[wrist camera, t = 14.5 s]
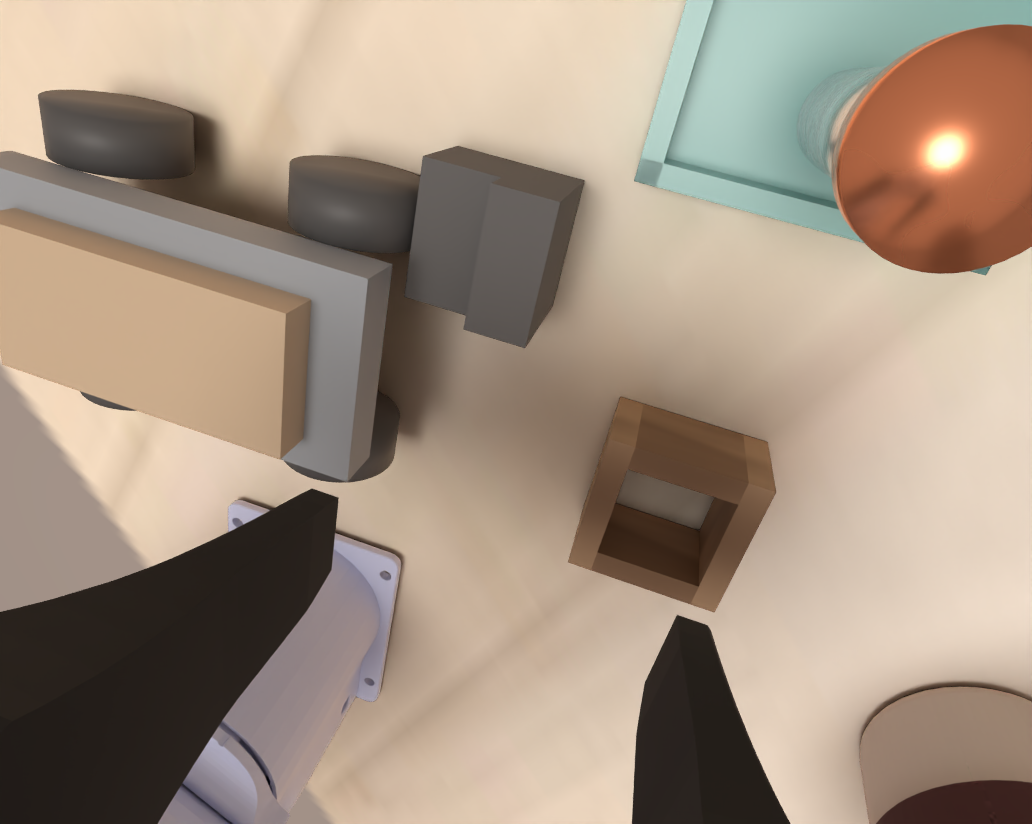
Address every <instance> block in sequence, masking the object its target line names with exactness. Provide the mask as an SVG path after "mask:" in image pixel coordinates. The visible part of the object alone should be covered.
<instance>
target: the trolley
mask: <svg viewBox="0 0 1032 824" xmlns="http://www.w3.org/2000/svg"><path fill="white" fill-rule="evenodd" d="M38 99H39V106H40V113H41V120H42V128H43V135H44V142H45V149H46V155H47V157H48V158H49V159H50V160H52V161H53V162H55V163H57V164H60V165H57V164H54V163H51V162H47V161H44V160H41V159H37V158H34V157H30V156H27V155H24V154H20V153H17V152H14V151H5V152H0V354H1V359H2V364H3V365H5V366H8V367H11V368H14V369H17V370H20V371H23V372H26V373H29V374H32V375H34V376H37V377H40V378H43V379H46V380H49V381H52V382H55V383H58V384H61V385H64V386H67V387H69V388H72V389H75V390H78V391H80V392H81V394H82V395H83V396H84V397H85V398H86V399H88V400H89V401H91V402H93V403H95V404H98V405H100V406H104V407H107V408H112V409H118V410H129V411H140V412H143V413H145V414H148V415H151V416H154V417H157V418H160V419H163V420H166V421H169V422H172V423H175V424H178V425H180V426H183V427H186V428H189V429H192V430H195V431H198V432H201V433H204V434H207V435H210V436H213V437H216V438H218V439H221V440H224V441H227V442H230V443H233V444H236V445H239V446H242V447H245V448H248V449H251V450H254V451H256V452H259V453H262V454H265V455H268V456H271V457H274V458H277V459H281V460H284V461H285V463H286V464H287V465H288V466H290V467H291V468H292V469H294V470H295V471H296V472H298V473H300V474H302V475H305V476H307V477H310V478H313V479H317V480H321V481H327V482H355V481H361V480H365V479H368V478H371V477H374V476H376V475H378V474H380V473H381V472H383V471H384V470H386V469H387V468H388V467H389V466H390V464H391V463H392V461H393V459H394V454H395V447H396V440H397V433H398V426H399V419H400V413H399V410H398V408H397V406H396V404H395V403H394V402H393V401H392V400H391V399H390V398H389V397H387V396H386V395H384V394H382V393H381V392H379V391H377V390H378V382H379V373H380V365H381V357H382V348H383V340H384V332H385V324H386V315H387V307H388V299H389V290H390V282H391V274H392V266H393V264H391V263H387V262H384V261H381V260H377V259H374V258H371V257H367V256H364V255H360V254H357V253H354V252H350V251H347V250H344V249H349V250H355V251H362V252H371V253H401V252H408V251H410V250H411V242H412V235H413V227H414V220H415V212H416V205H417V198H418V190H419V183H420V176H418V175H416V174H413V173H411V172H408V171H405V170H402V169H399V168H396V167H392V166H389V165H385V164H381V163H376V162H372V161H367V160H361V159H355V158H348V157H339V156H324V155H312V156H302V157H297V158H294V159H292V160H291V161H290V168H289V195H288V224H289V226H290V227H291V228H292V229H293V230H295V231H296V232H298V233H299V234H301V235H303V236H305V237H307V238H309V239H307V238H303V237H300V236H296V235H293V234H290V233H286V232H283V231H280V230H276V229H273V228H270V227H266V226H263V225H259V224H256V223H253V222H249V221H246V220H243V219H239V218H236V217H232V216H229V215H226V214H222V213H219V212H216V211H212V210H209V209H206V208H202V207H199V206H195V205H192V204H189V203H185V202H182V201H179V200H175V199H172V198H169V197H165V196H162V195H158V194H155V193H152V192H148V191H145V190H142V189H138V188H135V187H131V186H128V185H125V184H121V183H118V182H115V181H111V180H108V179H105V178H101V177H98V176H94V175H91V174H88V173H92V174H97V175H103V176H110V177H118V178H129V179H172V178H180V177H184V176H187V175H190V174H192V173H193V172H194V171H195V152H194V121H193V115H192V114H191V113H189V112H188V111H186V110H184V109H181V108H179V107H176V106H173V105H169V104H166V103H162V102H158V101H154V100H149V99H145V98H140V97H134V96H128V95H122V94H115V93H107V92H97V91H85V90H52V91H45V92H42V93H40V94H39V95H38ZM61 165H62V166H61ZM64 166H65V167H64ZM67 167H68V168H67ZM74 169H75V170H74ZM81 171H82V172H81ZM84 172H87V173H84ZM310 239H312V240H310ZM313 240H315V241H313ZM323 243H324V244H323ZM330 245H331V246H330ZM333 246H334V247H333ZM337 247H339V248H337ZM340 248H343V249H340Z"/></svg>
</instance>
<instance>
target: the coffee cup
mask: <svg viewBox="0 0 1032 824" xmlns="http://www.w3.org/2000/svg"><path fill="white" fill-rule="evenodd" d="M859 754H860V765H861V772H862V778H863V785H864V792H865V799H866V805H867V812H868V819H869V824H1032V701H1029V700H1027V699H1025V698H1022V697H1019V696H1016V695H1013V694H1010V693H1006V692H1002V691H997V690H993V689H986V688H978V687H943V688H937V689H931V690H925V691H922V692H918V693H915V694H912V695H909V696H906V697H904V698H901V699H899V700H897V701H896V702H894V703H892V704H890V705H889V706H887V707H885V708H884V709H883V710H882V711H881V712H879V713H878V714H877V715H876V716H875V717H874V718H873V719H872V720H871V722H870V723H869V724H868V726H867V727H866V729H865V731H864V734H863V736H862V739H861V744H860V753H859Z"/></svg>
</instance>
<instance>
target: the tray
mask: <svg viewBox="0 0 1032 824" xmlns="http://www.w3.org/2000/svg"><path fill="white" fill-rule="evenodd" d="M1002 24H1013V25H1027V26H1032V0H687V1H686V4H685V8H684V11H683V14H682V18H681V21H680V25H679V28H678V32H677V35H676V39H675V42H674V45H673V49H672V52H671V56H670V59H669V63H668V66H667V69H666V73H665V76H664V80H663V83H662V87H661V90H660V94H659V97H658V100H657V104H656V107H655V111H654V114H653V118H652V121H651V124H650V128H649V131H648V135H647V138H646V142H645V145H644V149H643V152H642V155H641V159H640V162H639V166H638V169H637V173H636V176H635V179H634V181H636V182H639V183H643V184H647V185H651V186H654V187H658V188H662V189H665V190H669V191H673V192H677V193H680V194H684V195H688V196H692V197H695V198H699V199H703V200H706V201H710V202H714V203H718V204H721V205H725V206H729V207H733V208H736V209H740V210H744V211H747V212H751V213H755V214H759V215H762V216H766V217H770V218H774V219H777V220H781V221H785V222H788V223H792V224H796V225H800V226H803V227H807V228H811V229H815V230H818V231H822V232H826V233H829V234H833V235H837V236H841V237H844V238H848V239H852V240H856V241H859V242H863V241H862V240H861V239H860V238H859V236H858V235H857V234H856V233H855V232H854V231H853V230H852V229H851V228H850V227H849V225H848V224H847V222H846V221H845V220H844V218H843V216H842V214H841V212H840V210H839V208H838V206H837V203H836V200H835V197H834V192H833V186H832V178H830V177H829V176H828V175H827V174H825V173H824V172H823V171H822V170H820V169H819V168H818V167H817V166H815V165H814V164H813V163H812V162H810V161H809V160H808V159H807V158H806V156H805V155H804V154H803V152H802V150H801V148H800V146H799V143H798V138H797V121H798V116H799V113H800V110H801V108H802V106H803V103H804V102H805V100H806V98H807V97H808V95H809V94H810V93H811V92H812V90H813V89H814V88H815V87H816V86H817V85H818V84H820V83H821V82H822V81H823V80H825V79H826V78H828V77H829V76H831V75H833V74H835V73H837V72H840V71H843V70H847V69H852V68H866V67H883V66H888V65H889V64H891V63H892V62H893V61H894V60H896V59H897V58H898V57H900V56H902V55H903V54H905V53H906V52H908V51H909V50H911V49H913V48H915V47H917V46H919V45H921V44H923V43H925V42H927V41H929V40H932V39H934V38H937V37H940V36H943V35H945V34H950V33H954V32H958V31H962V30H967V29H973V28H978V27H984V26H993V25H1002ZM863 243H864V242H863ZM991 266H992V265H991ZM991 266H988V267H984V268H980V269H976V270H972V271H971V272H975V273H978V274H982V275H986V274H987V272H988V271H989V269H990V267H991Z"/></svg>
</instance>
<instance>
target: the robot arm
mask: <svg viewBox="0 0 1032 824" xmlns="http://www.w3.org/2000/svg"><path fill="white" fill-rule="evenodd" d="M337 508H338V497H335V496H332V495H329V494H326V493H323V492H320V491H317V490H315V489H310V490H308V491H306V492H304V493H302V494H300V495H298V496H296V497H294V498H293V499H291V500H289V501H287V502H285V503H283V504H281V505H279V506H278V507H276V508H274V509H272V510H268V509H265V508H263V507H260V506H257V505H254V504H251V503H248V502H246V501H243V500H235V501H234V502H233V503H232V504H231V505H230V506H229V508H228V533H226V534H224V535H222V536H220V537H218V538H216V539H213V540H211V541H209V542H207V543H205V544H203V545H200V546H198V547H196V548H194V549H192V550H189V551H187V552H185V553H183V554H181V555H178V556H176V557H174V558H172V559H169V560H167V561H165V562H162V563H160V564H157V565H155V566H152V567H149V568H147V569H144V570H141V571H139V572H136V573H133V574H131V575H128V576H125V577H122V578H120V579H117V580H114V581H111V582H108V583H104V584H101V585H98V586H94V587H91V588H88V589H85V590H82V591H79V592H75V593H72V594H68V595H65V596H61V597H58V598H55V599H51V600H47V601H44V602H40V603H36V604H32V605H28V606H24V607H20V608H16V609H11V610H7V611H3V612H0V824H286V823H287V821H288V819H289V817H290V815H289V813H288V812H289V811H290V810H291V808H292V807H293V806H294V804H295V803H296V801H297V800H298V798H299V796H300V795H301V793H302V791H303V790H304V788H305V786H306V784H307V782H308V781H309V779H310V777H311V775H312V774H313V772H314V770H315V768H316V766H317V765H318V763H319V761H320V759H321V758H322V756H323V754H324V752H325V750H326V749H327V747H328V745H329V743H330V741H331V740H332V738H333V736H334V734H335V733H336V731H337V729H338V727H339V725H340V724H341V722H342V720H343V718H344V717H345V715H346V713H347V711H348V709H349V708H350V706H351V704H352V702H353V701H354V699H355V697H358V698H360V699H363V700H365V701H369V702H372V701H375V700H376V699H377V698H378V696H379V694H380V690H381V684H382V678H383V672H384V666H385V660H386V654H387V648H388V642H389V636H390V630H391V624H392V618H393V612H394V606H395V600H396V594H397V588H398V582H399V576H400V570H401V561H400V559H399V558H398V557H397V556H396V555H394V554H393V553H390V552H387V551H384V550H382V549H379V548H376V547H373V546H370V545H367V544H365V543H362V542H359V541H356V540H353V539H350V538H348V537H345V536H342V535H339V534H336V533H335V529H336V519H337ZM240 520H241V521H240ZM385 571H387V572H389V573H390V574H388V573H386V572H385ZM632 824H790V822H789V820H788V818H787V816H786V815H785V813H784V811H783V809H782V807H781V805H780V803H779V801H778V799H777V797H776V795H775V793H774V791H773V789H772V787H771V785H770V783H769V780H768V778H767V776H766V774H765V772H764V770H763V767H762V765H761V763H760V761H759V759H758V757H757V754H756V752H755V750H754V747H753V745H752V743H751V740H750V738H749V736H748V733H747V731H746V728H745V726H744V723H743V721H742V718H741V716H740V713H739V711H738V708H737V706H736V703H735V700H734V698H733V695H732V692H731V690H730V687H729V684H728V681H727V678H726V676H725V673H724V670H723V667H722V664H721V661H720V658H719V655H718V652H717V649H716V646H715V642H714V639H713V636H712V633H711V630H710V628H709V627H708V625H705V624H702V623H699V622H696V621H693V620H690V619H688V618H685V617H682V616H679V615H677V616H676V618H675V620H674V623H673V625H672V627H671V629H670V631H669V633H668V635H667V637H666V639H665V642H664V644H663V646H662V648H661V650H660V652H659V654H658V656H657V658H656V661H655V663H654V665H653V667H652V669H651V671H650V673H649V675H648V677H647V680H646V682H645V685H644V691H643V697H642V703H641V709H640V715H639V721H638V727H637V735H636V753H635V772H634V793H633V815H632Z"/></svg>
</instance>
